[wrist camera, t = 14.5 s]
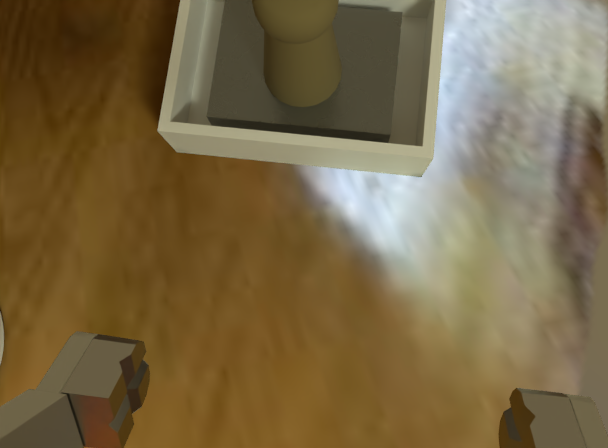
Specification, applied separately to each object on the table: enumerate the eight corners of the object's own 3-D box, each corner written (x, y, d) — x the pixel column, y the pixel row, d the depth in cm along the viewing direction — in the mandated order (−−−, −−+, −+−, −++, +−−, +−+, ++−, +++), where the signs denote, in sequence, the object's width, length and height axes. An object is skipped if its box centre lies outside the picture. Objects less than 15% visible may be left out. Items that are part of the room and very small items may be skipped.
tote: (176, 152, 44) (157, 130, 39) (202, -2, 46) (187, -41, 41) (421, 177, 43) (433, 158, 38) (434, 17, 45) (447, -21, 40)
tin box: (213, 128, 43) (206, 116, 41) (231, 15, 45) (225, -3, 42) (387, 145, 42) (390, 134, 40) (398, 29, 44) (402, 12, 41)
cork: (313, 121, 40) (308, 48, 29) (247, 81, 41) (219, -5, 30) (357, 59, 41) (367, -36, 30) (292, 20, 42) (279, -85, 31)
